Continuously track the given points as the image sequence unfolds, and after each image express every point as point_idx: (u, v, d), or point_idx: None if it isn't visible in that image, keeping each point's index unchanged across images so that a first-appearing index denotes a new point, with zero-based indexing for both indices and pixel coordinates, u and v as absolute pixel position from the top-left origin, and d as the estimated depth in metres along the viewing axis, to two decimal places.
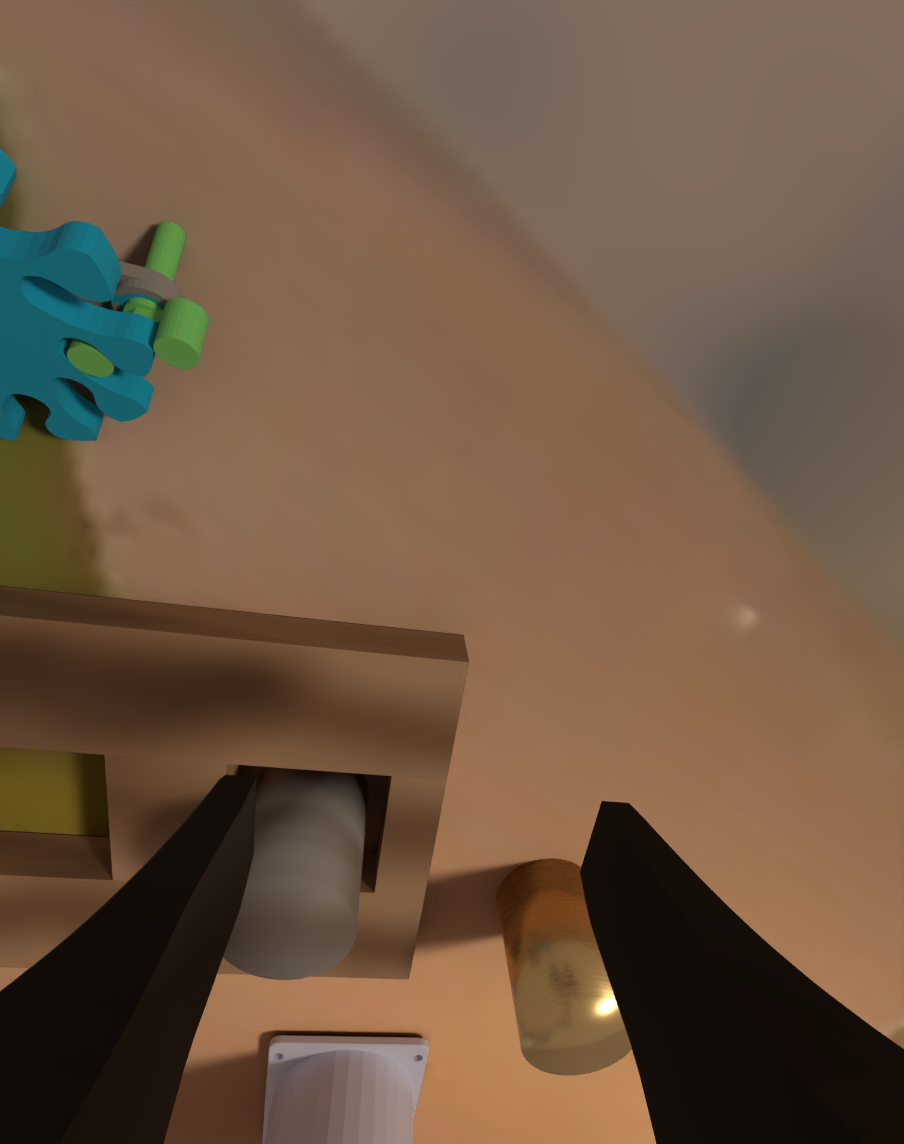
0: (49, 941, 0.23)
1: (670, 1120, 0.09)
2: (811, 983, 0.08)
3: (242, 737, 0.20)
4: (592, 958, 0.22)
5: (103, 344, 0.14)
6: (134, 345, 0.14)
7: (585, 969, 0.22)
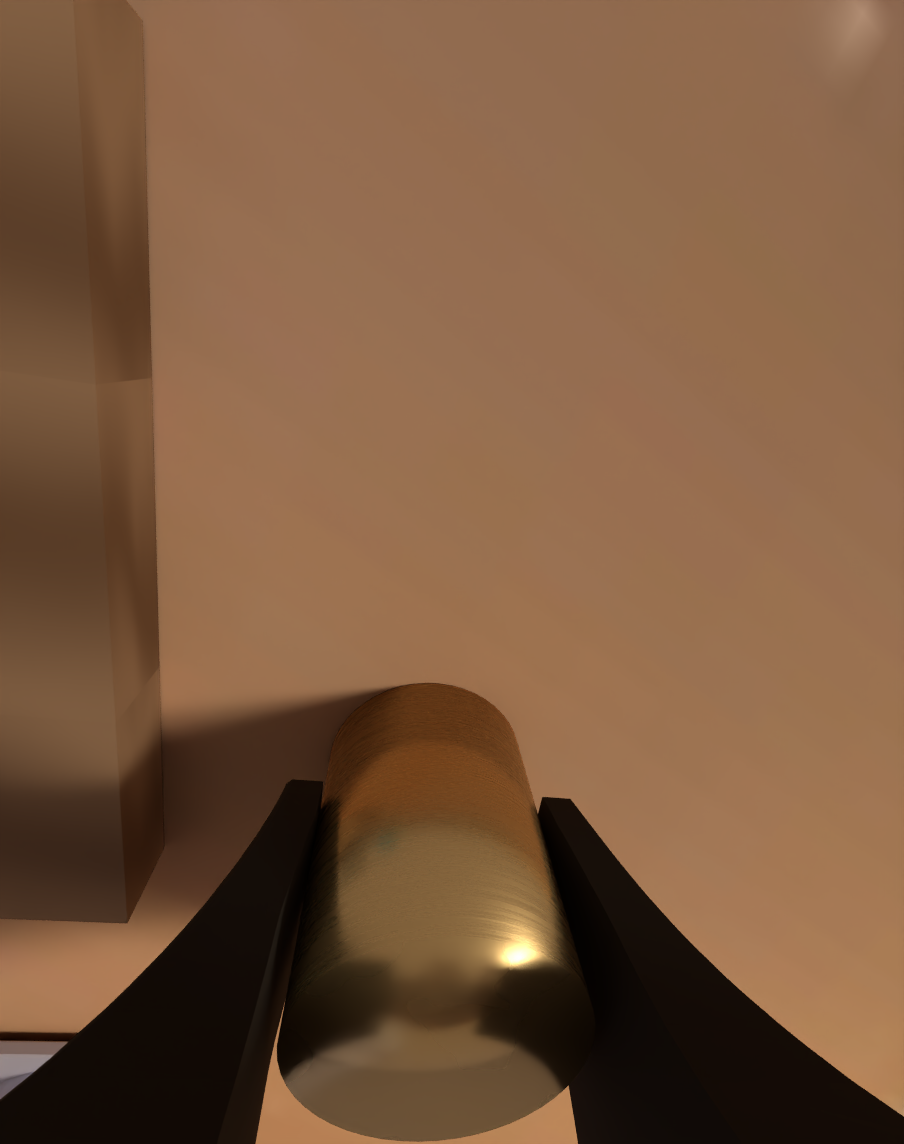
0: None
1: (590, 1120, 0.09)
2: (725, 980, 0.08)
3: None
4: (478, 849, 0.09)
5: None
6: None
7: (454, 870, 0.08)
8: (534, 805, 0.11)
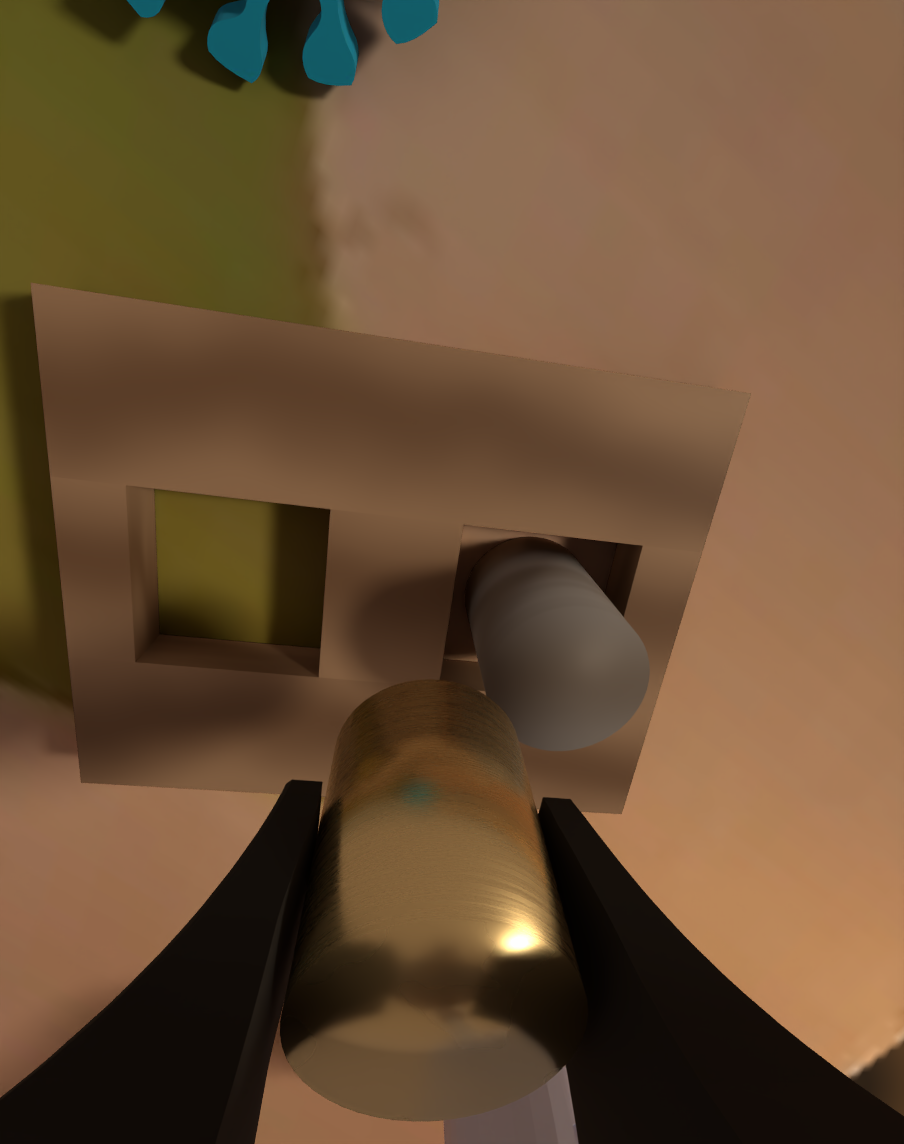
0: (239, 756, 0.20)
1: (590, 1120, 0.09)
2: (726, 980, 0.08)
3: (485, 489, 0.18)
4: (463, 836, 0.09)
5: None
6: None
7: (438, 857, 0.09)
8: (529, 791, 0.12)
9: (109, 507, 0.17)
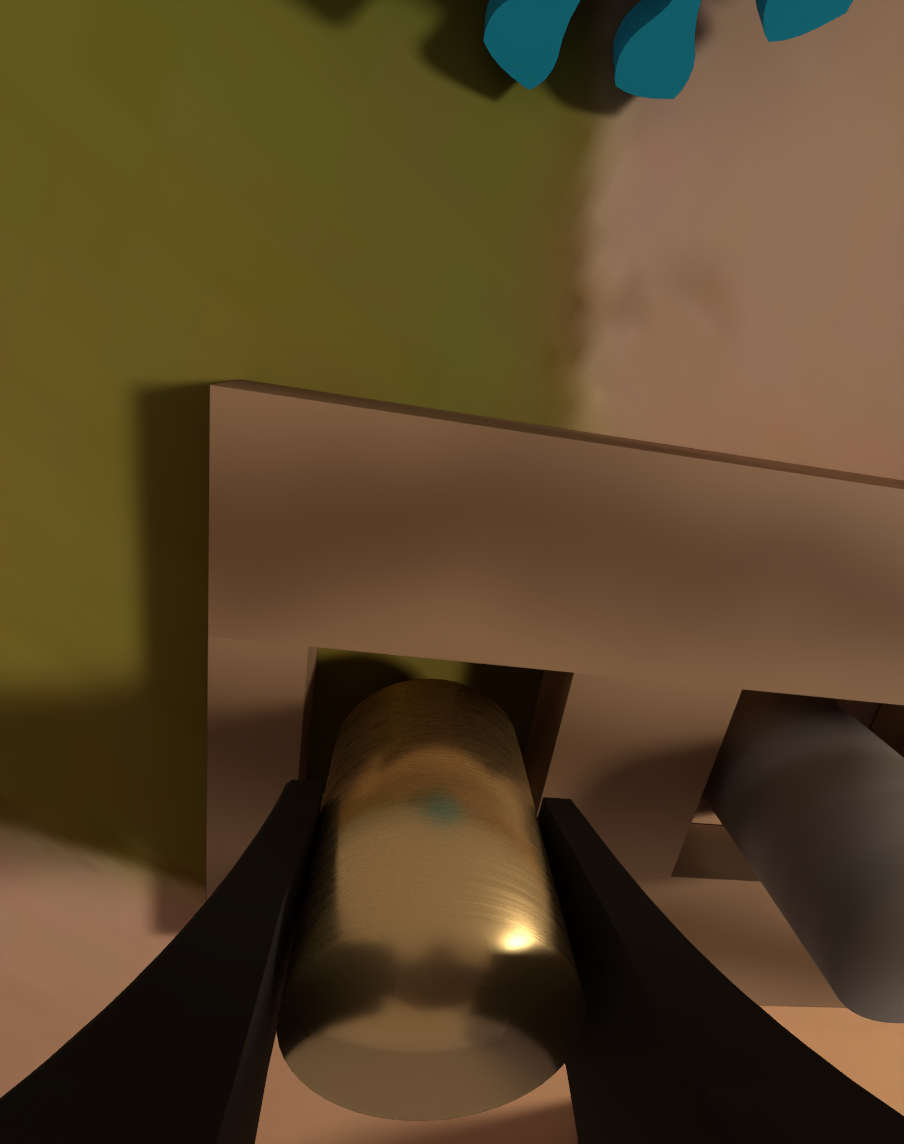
0: None
1: (590, 1120, 0.09)
2: (726, 981, 0.08)
3: (780, 646, 0.13)
4: (459, 835, 0.09)
5: None
6: None
7: (433, 857, 0.09)
8: (527, 790, 0.12)
9: (283, 673, 0.12)
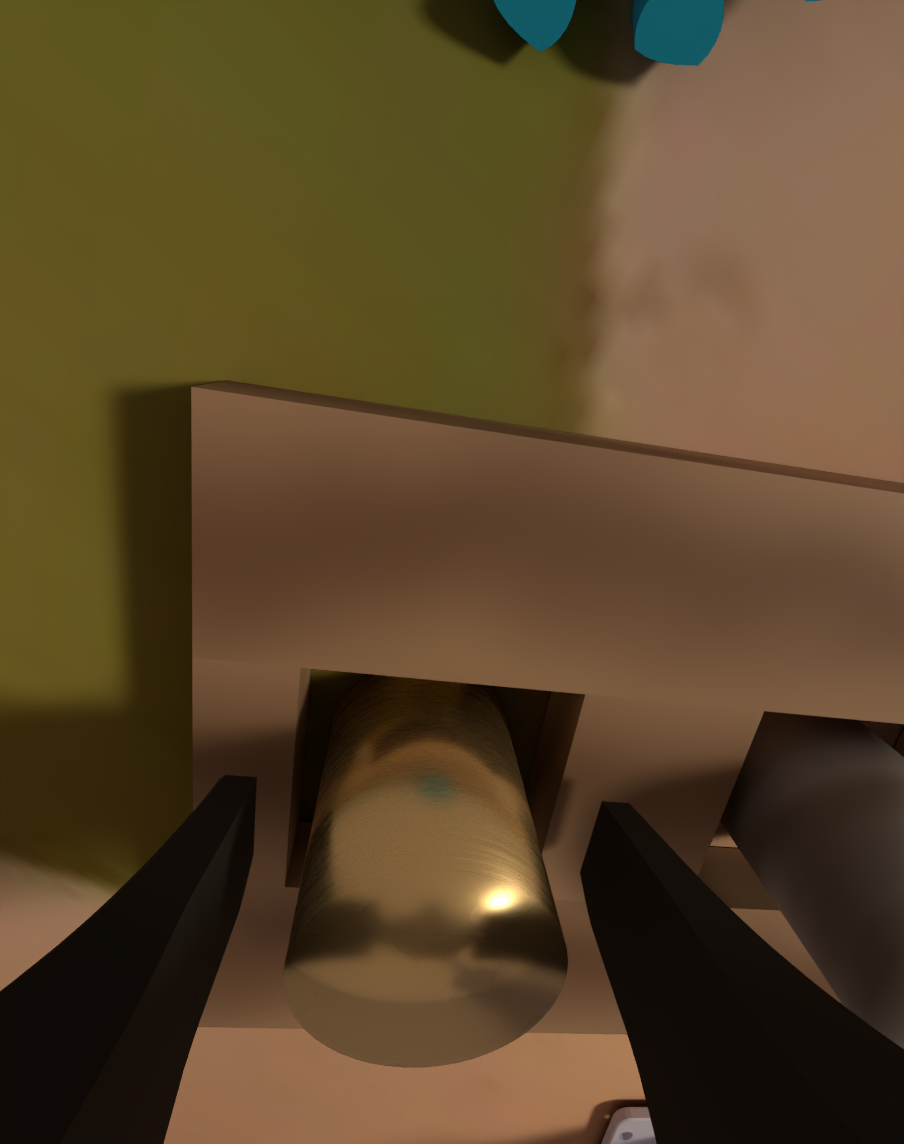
0: None
1: (670, 1120, 0.09)
2: (811, 983, 0.08)
3: (805, 666, 0.12)
4: (451, 800, 0.10)
5: None
6: None
7: (427, 819, 0.09)
8: (515, 764, 0.12)
9: (273, 696, 0.12)
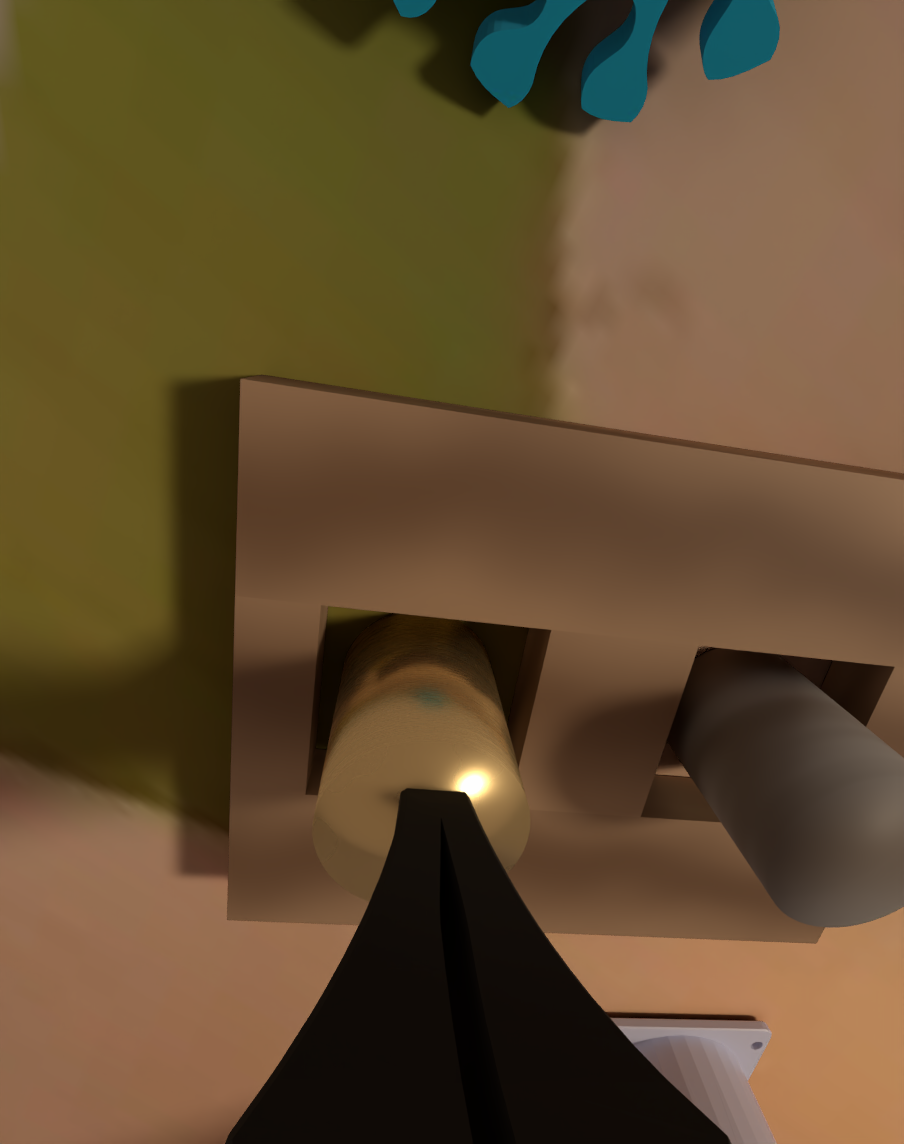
0: None
1: None
2: (569, 976, 0.08)
3: (730, 607, 0.15)
4: (441, 700, 0.13)
5: None
6: None
7: (422, 711, 0.12)
8: (494, 688, 0.15)
9: (298, 629, 0.14)
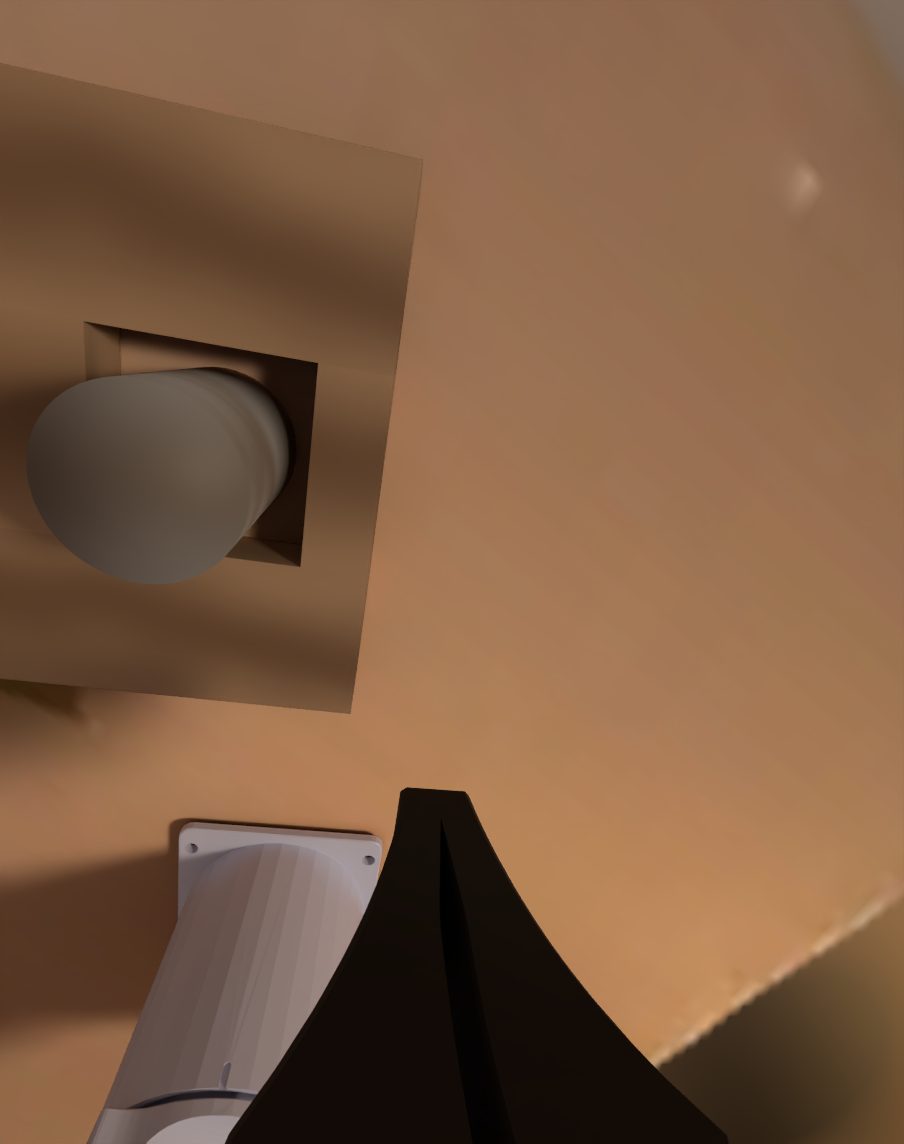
0: None
1: None
2: (568, 976, 0.08)
3: (103, 273, 0.14)
4: None
5: None
6: None
7: None
8: None
9: None
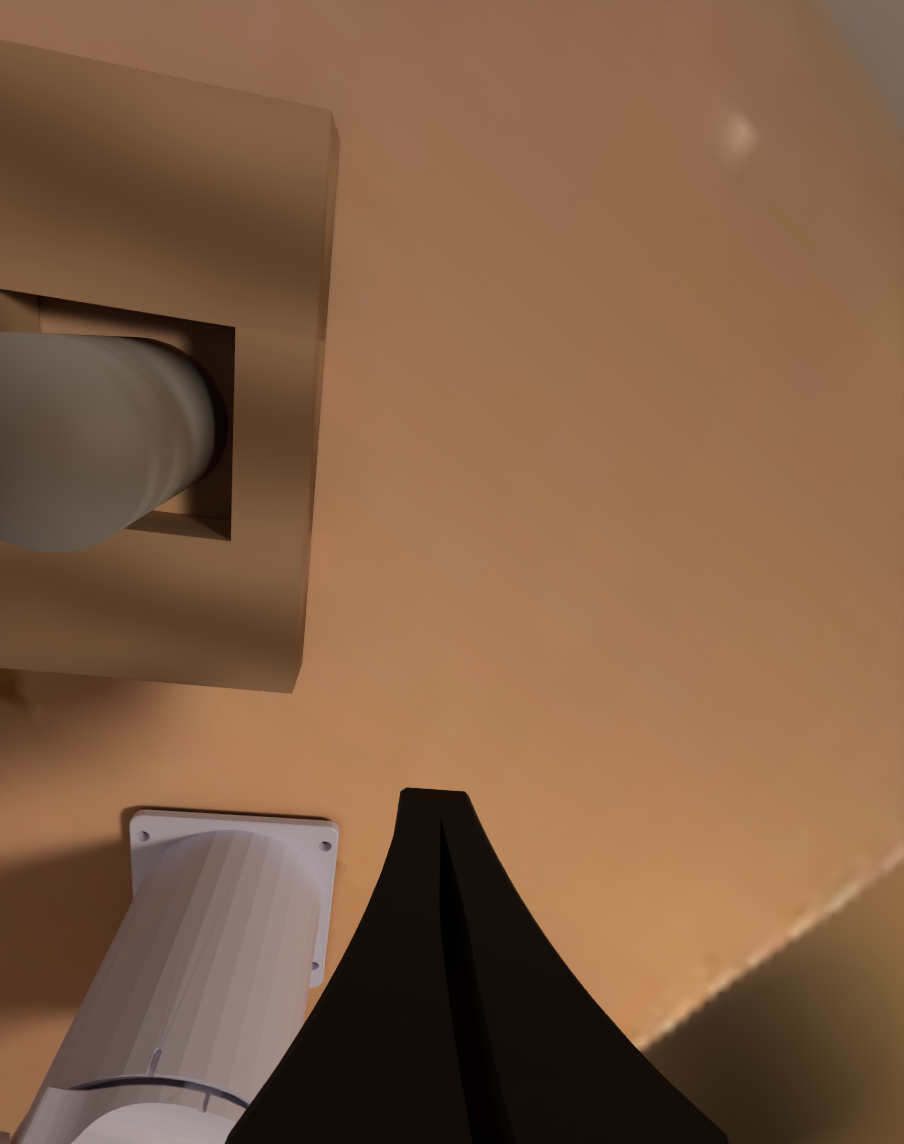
0: None
1: None
2: (568, 976, 0.08)
3: (6, 236, 0.14)
4: None
5: None
6: None
7: None
8: None
9: None
